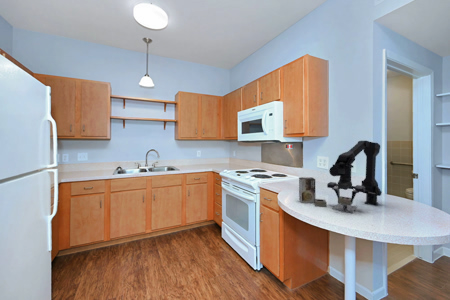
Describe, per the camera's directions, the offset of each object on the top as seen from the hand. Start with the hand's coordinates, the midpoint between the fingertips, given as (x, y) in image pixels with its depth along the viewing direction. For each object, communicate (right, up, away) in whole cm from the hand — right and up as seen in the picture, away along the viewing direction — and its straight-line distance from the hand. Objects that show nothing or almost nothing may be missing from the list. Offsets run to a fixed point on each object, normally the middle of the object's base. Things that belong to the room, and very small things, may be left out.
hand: (345, 200), depth 116 cm
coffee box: (-17, -4, +14) cm, 23 cm away
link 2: (0, -1, 0) cm, 1 cm away
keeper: (0, -5, 0) cm, 4 cm away
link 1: (-12, -4, +6) cm, 14 cm away
